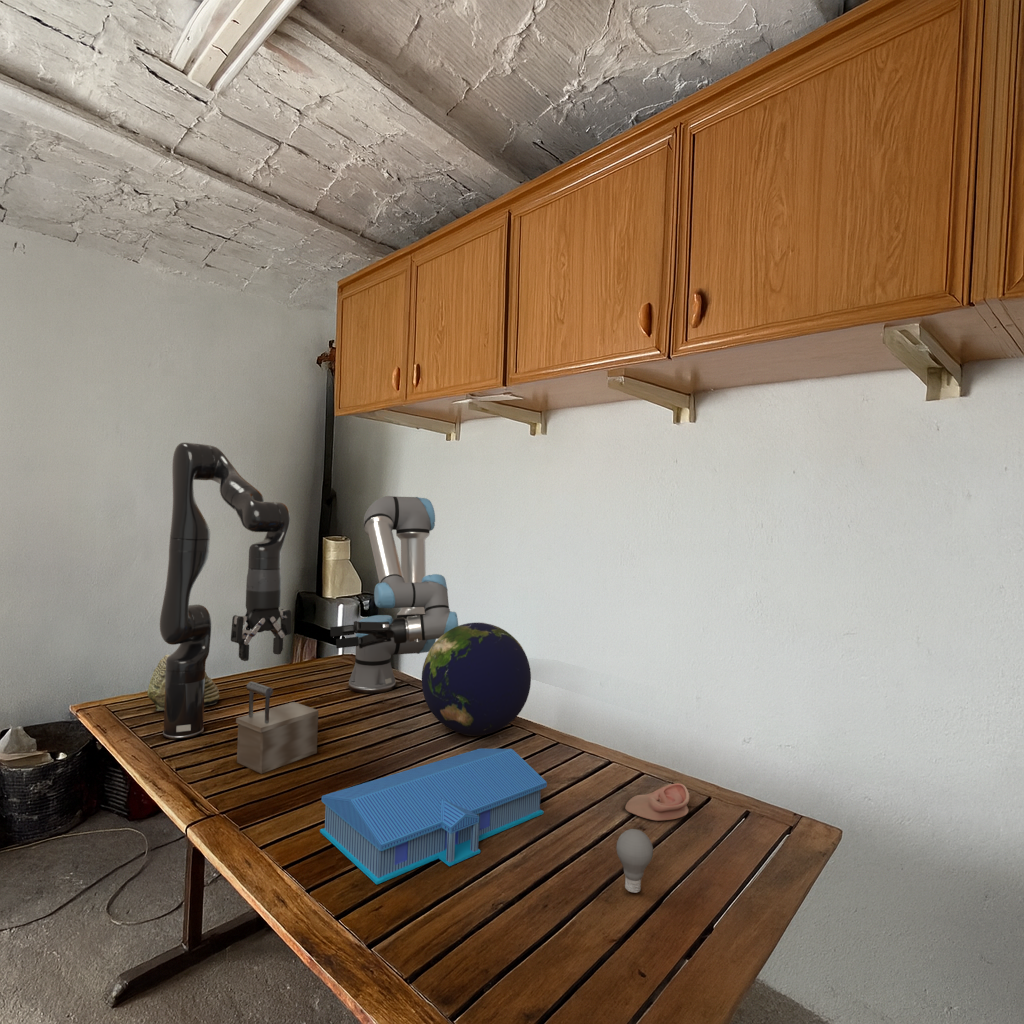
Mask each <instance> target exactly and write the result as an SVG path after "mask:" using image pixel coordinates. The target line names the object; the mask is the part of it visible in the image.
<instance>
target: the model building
mask: <svg viewBox="0 0 1024 1024" xmlns="http://www.w3.org/2000/svg"><path fill="white" fill-rule="evenodd" d="M547 786H548V781H546V780H545V779H544V778H543V777H542V776H541V775H540V774H539V773H538V772H537V771H536V770H535V769H534V768H533V767H532V766H531V765H529V763H528V762H527V761H526V760H524V758H523V757H521V755H520V754H519V753H518V752H516V751H515V750H514V749H513V748H482V747H481V748H480V747H479V748H477V749H474V750H471V751H467V752H464V753H460V754H457V755H454V756H449V757H447V758H444V759H440V760H437V761H434V762H430V763H427V764H423V765H420V766H416V767H413V768H410V769H407V770H403V771H400V772H397V773H393V774H390V775H387V776H384V777H379V778H377V779H374V780H370V781H366V782H363V783H360V784H356V785H354V786H350V787H347V788H344V789H339V790H337V791H333V792H330V793H327V794H323V795H321V802H322V803H323V804H324V805H325V810H324V811H325V813H324V828H321V829H319V833H320V834H321V835H322V836H323V837H324V838H326V839H327V840H328V842H330V843H331V844H332V845H333V846H334V847H336V848H337V850H338V851H340V852H341V853H342V854H343V855H344V856H345V857H346V858H347V859H348V860H349V861H351V863H352V864H354V865H355V866H356V867H357V868H358V869H359V870H360V871H361V872H362V873H363V874H364V875H365V876H367V877H368V878H369V879H370V880H371V881H372V882H373V883H374V884H375V885H381V884H382V883H384V882H387V881H389V880H391V879H394V878H397V877H398V876H401V875H404V874H405V873H408V872H410V871H412V870H415V869H417V868H419V867H422V866H424V865H427V864H429V863H431V862H434V861H436V860H440V861H441V862H442V863H444V864H445V865H447V866H448V867H452V866H455V865H456V864H458V863H461V862H463V861H465V860H467V859H470V858H473V857H474V856H477V855H479V854H481V849H480V848H479V842H481V841H483V840H486V839H487V838H490V837H492V836H495V835H497V834H499V833H502V832H504V831H506V830H509V829H511V828H513V827H516V826H518V825H520V824H523V823H525V822H527V821H530V820H532V819H534V818H537V817H539V816H542V815H544V813H545V811H544V810H542V809H541V792H542V791H541V790H544V789H546V788H547Z"/></svg>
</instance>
